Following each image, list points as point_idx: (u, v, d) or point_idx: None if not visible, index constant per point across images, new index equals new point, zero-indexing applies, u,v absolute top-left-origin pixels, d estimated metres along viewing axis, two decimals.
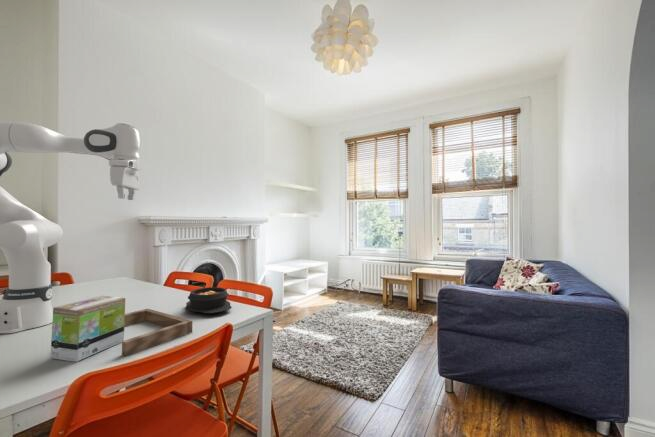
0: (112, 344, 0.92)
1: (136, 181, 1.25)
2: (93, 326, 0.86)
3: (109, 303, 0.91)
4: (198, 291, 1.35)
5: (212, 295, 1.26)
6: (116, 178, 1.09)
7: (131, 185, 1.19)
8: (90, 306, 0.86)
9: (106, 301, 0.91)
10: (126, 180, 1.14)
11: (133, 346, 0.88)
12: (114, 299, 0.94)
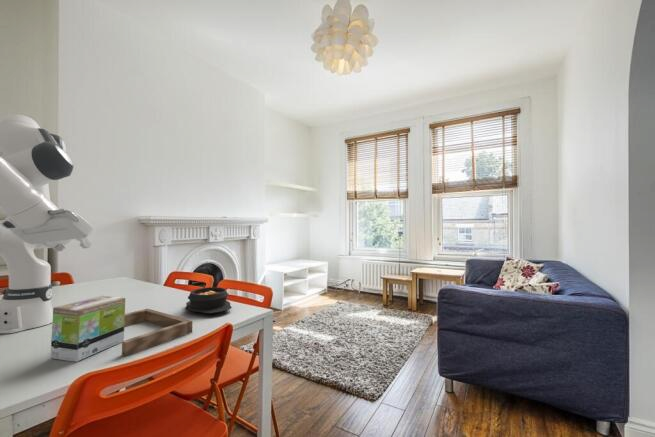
0: (112, 344, 0.92)
1: (64, 231, 0.79)
2: (93, 326, 0.86)
3: (109, 303, 0.91)
4: (198, 291, 1.35)
5: (212, 295, 1.26)
6: None
7: (54, 239, 0.82)
8: (90, 306, 0.86)
9: (106, 301, 0.91)
10: (35, 237, 0.82)
11: (133, 346, 0.88)
12: (114, 299, 0.94)
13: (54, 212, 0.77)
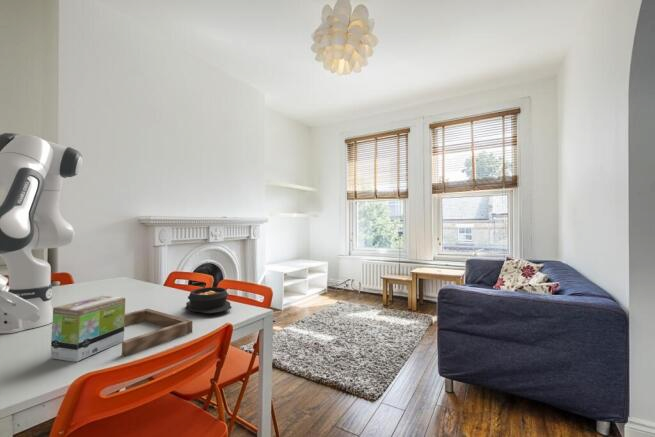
0: (112, 344, 0.92)
1: (6, 312, 0.70)
2: (93, 326, 0.86)
3: (109, 303, 0.91)
4: (198, 291, 1.35)
5: (212, 295, 1.26)
6: None
7: None
8: (90, 306, 0.86)
9: (106, 301, 0.91)
10: None
11: (133, 346, 0.88)
12: (114, 299, 0.94)
13: None
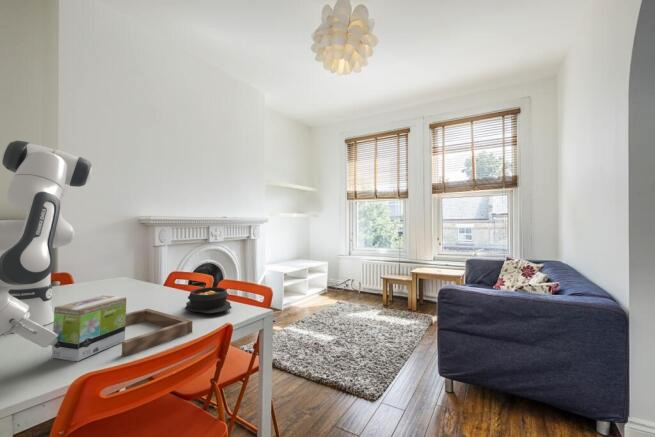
0: (113, 344, 0.92)
1: None
2: (94, 326, 0.86)
3: (110, 303, 0.91)
4: (198, 291, 1.35)
5: (212, 295, 1.26)
6: None
7: None
8: (91, 306, 0.86)
9: (107, 301, 0.91)
10: None
11: (133, 346, 0.88)
12: (115, 299, 0.94)
13: (13, 324, 0.71)
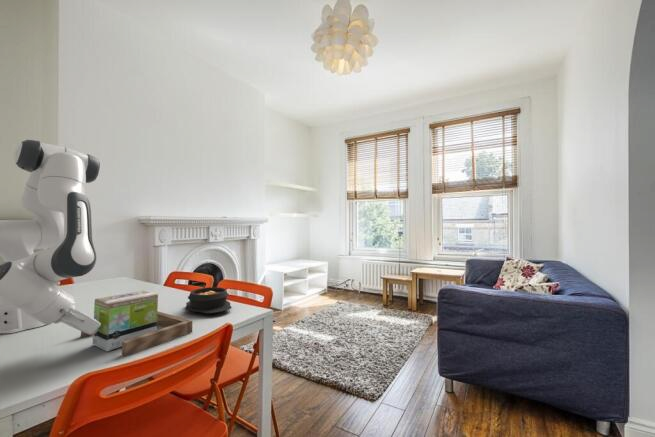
0: None
1: (75, 327, 0.82)
2: (123, 320, 0.92)
3: (140, 298, 0.96)
4: (198, 291, 1.35)
5: (212, 295, 1.26)
6: None
7: (73, 327, 0.87)
8: (121, 300, 0.92)
9: (138, 296, 0.97)
10: (61, 321, 0.88)
11: (133, 346, 0.88)
12: (147, 295, 0.99)
13: (63, 313, 0.80)
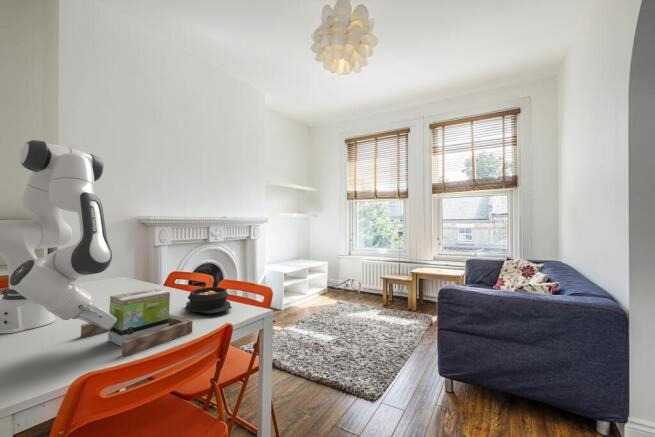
0: None
1: (93, 322, 0.86)
2: (137, 316, 0.95)
3: (153, 296, 0.99)
4: (198, 291, 1.35)
5: (212, 295, 1.26)
6: None
7: None
8: (135, 298, 0.95)
9: (151, 294, 1.00)
10: (78, 317, 0.92)
11: (133, 346, 0.88)
12: (159, 293, 1.02)
13: (82, 309, 0.83)
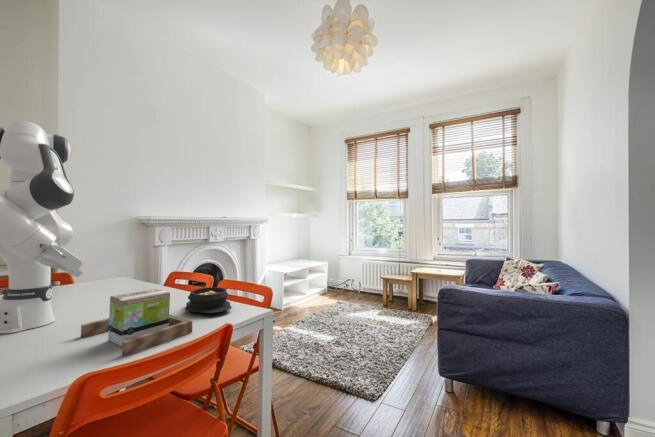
0: None
1: (56, 264, 0.79)
2: (137, 316, 0.95)
3: (153, 296, 1.00)
4: (198, 291, 1.35)
5: (212, 295, 1.26)
6: None
7: (55, 267, 0.83)
8: (135, 298, 0.95)
9: (151, 294, 1.00)
10: (43, 262, 0.85)
11: (133, 346, 0.88)
12: (159, 293, 1.02)
13: (43, 247, 0.76)
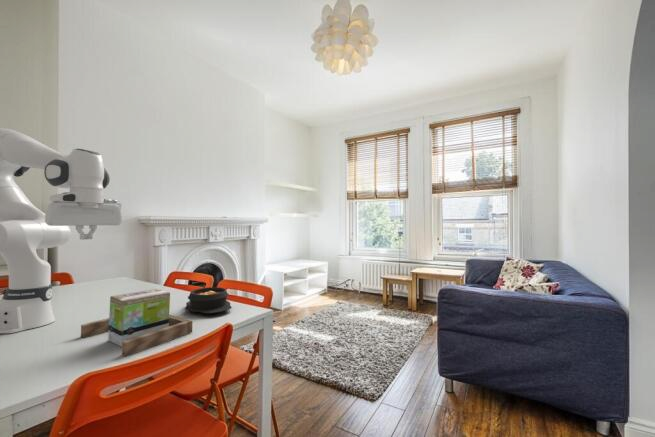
0: None
1: (108, 215, 1.02)
2: (137, 316, 0.95)
3: (153, 296, 1.00)
4: (198, 291, 1.35)
5: (212, 295, 1.26)
6: (47, 217, 0.90)
7: (88, 222, 0.97)
8: (135, 298, 0.95)
9: (151, 294, 1.00)
10: (69, 218, 0.93)
11: (133, 346, 0.88)
12: (159, 293, 1.02)
13: (109, 200, 1.04)
